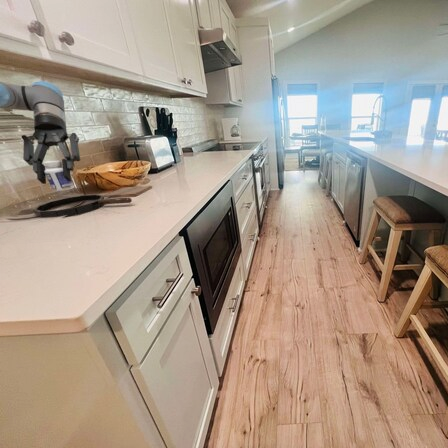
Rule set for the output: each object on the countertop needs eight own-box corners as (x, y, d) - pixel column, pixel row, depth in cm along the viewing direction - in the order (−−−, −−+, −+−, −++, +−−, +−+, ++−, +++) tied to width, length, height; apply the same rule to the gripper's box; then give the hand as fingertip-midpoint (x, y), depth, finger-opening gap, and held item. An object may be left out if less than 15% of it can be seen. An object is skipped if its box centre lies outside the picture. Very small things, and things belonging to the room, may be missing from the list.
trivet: (104, 198, 92) (103, 195, 91) (123, 189, 103) (122, 187, 102) (136, 196, 92) (135, 193, 92) (152, 188, 103) (151, 185, 103)
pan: (22, 220, 73) (17, 211, 72) (68, 202, 88) (65, 195, 87) (117, 214, 74) (113, 206, 72) (146, 198, 89) (144, 190, 88)
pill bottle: (77, 186, 81) (66, 159, 78) (71, 189, 77) (59, 161, 73) (56, 188, 79) (44, 161, 76) (49, 192, 75) (36, 163, 71)
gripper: (89, 129, 87) (96, 182, 80) (20, 132, 80) (22, 191, 73) (79, 112, 81) (86, 168, 74) (3, 113, 73) (3, 176, 66)
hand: (54, 179), depth 73 cm, fingers closed on pill bottle, 5 cm apart
